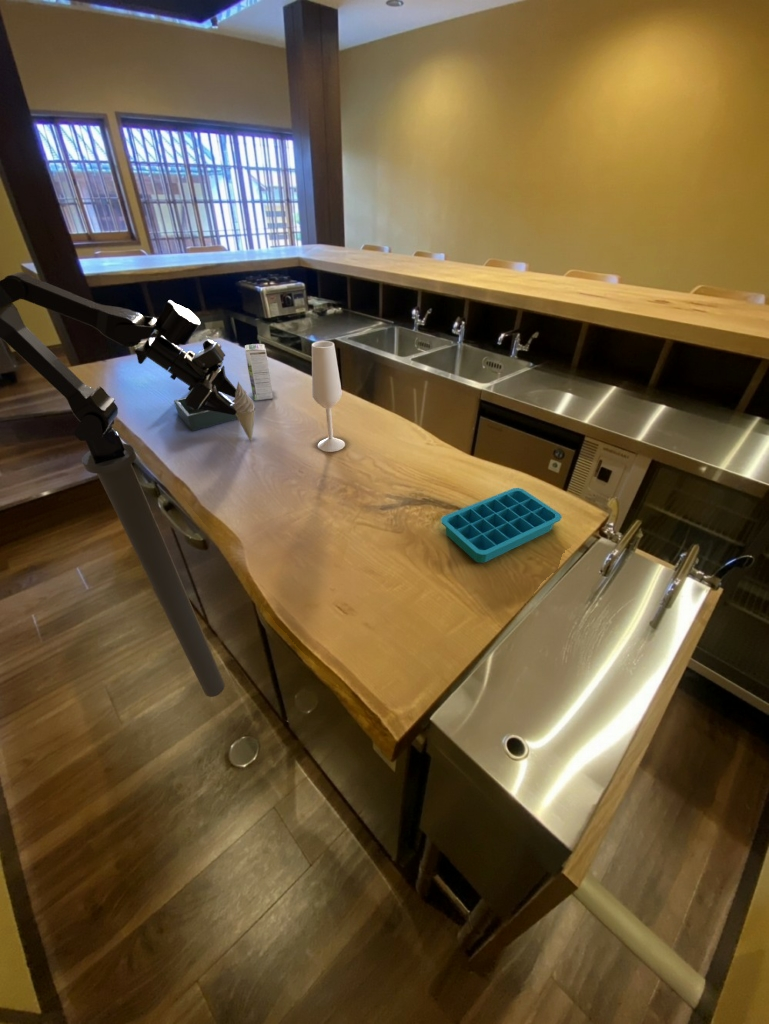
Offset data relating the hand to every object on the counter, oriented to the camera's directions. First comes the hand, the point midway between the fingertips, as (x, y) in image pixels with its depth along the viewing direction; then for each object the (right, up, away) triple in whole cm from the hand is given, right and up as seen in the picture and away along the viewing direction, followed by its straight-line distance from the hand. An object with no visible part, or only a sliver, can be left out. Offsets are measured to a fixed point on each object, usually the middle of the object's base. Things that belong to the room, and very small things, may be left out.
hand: (238, 405), depth 100 cm
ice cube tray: (+56, -29, -21) cm, 66 cm away
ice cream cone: (+1, -7, +6) cm, 10 cm away
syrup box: (-2, +9, +28) cm, 30 cm away
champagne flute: (+21, -9, +4) cm, 24 cm away
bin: (-14, +1, +17) cm, 22 cm away
